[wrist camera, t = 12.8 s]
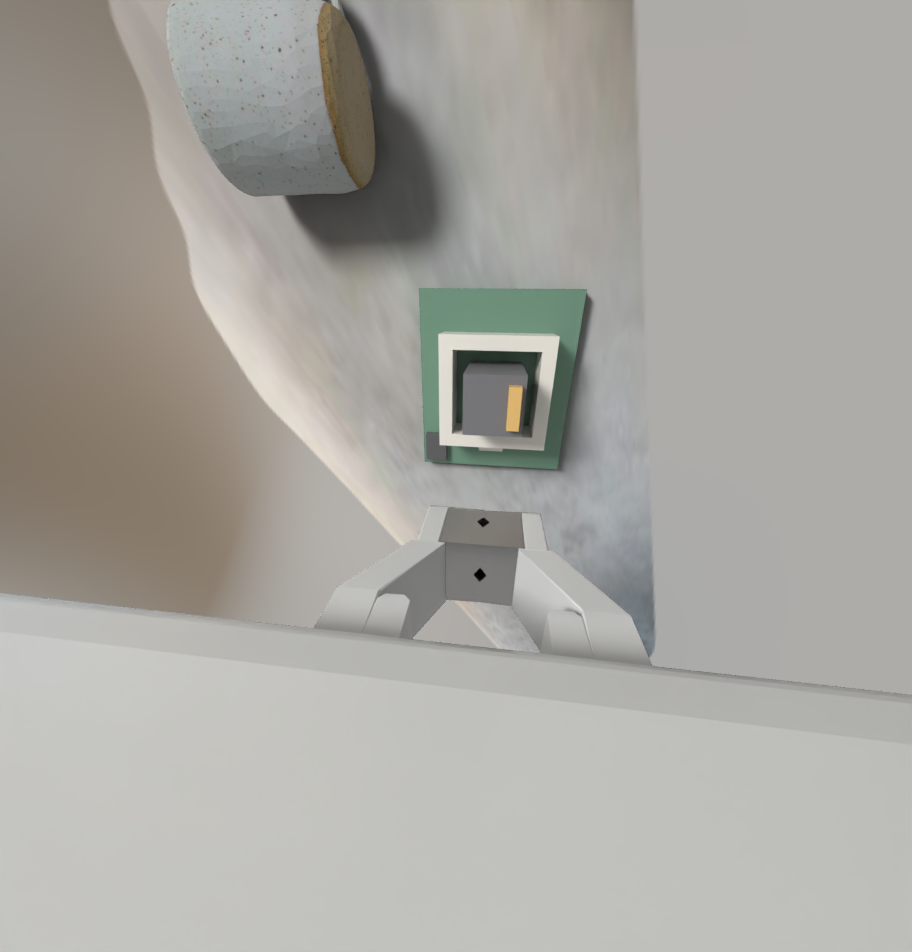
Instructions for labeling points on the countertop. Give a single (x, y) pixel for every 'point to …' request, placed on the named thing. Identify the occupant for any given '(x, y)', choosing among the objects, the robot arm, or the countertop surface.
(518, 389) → the plug
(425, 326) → the board
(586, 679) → the robot arm
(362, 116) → the ceramic mug
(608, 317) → the countertop surface
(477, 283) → the countertop surface
